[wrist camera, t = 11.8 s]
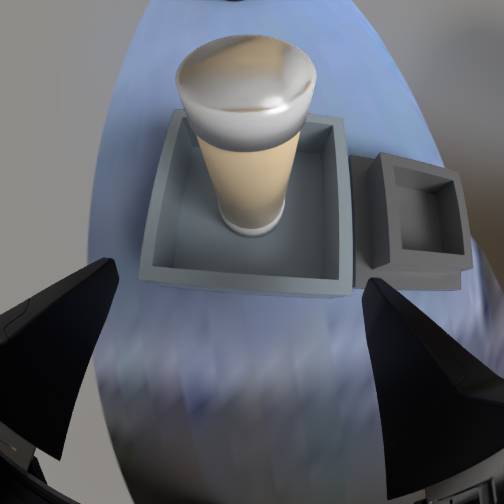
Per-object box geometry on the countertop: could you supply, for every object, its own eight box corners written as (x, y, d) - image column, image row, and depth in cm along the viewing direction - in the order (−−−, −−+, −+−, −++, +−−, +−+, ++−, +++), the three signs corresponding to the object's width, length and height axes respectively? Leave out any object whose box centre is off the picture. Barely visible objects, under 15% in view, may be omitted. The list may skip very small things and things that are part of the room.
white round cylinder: (291, 227, 16) (341, 101, 6) (231, 246, 16) (188, 135, 6) (270, 174, 17) (284, 28, 6) (214, 191, 17) (168, 52, 6)
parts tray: (330, 298, 16) (352, 295, 12) (163, 286, 16) (137, 279, 13) (328, 151, 18) (343, 118, 14) (187, 143, 19) (173, 109, 15)
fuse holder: (453, 290, 16) (483, 285, 13) (350, 288, 16) (372, 282, 13) (441, 181, 18) (464, 162, 14) (346, 162, 18) (361, 135, 15)
